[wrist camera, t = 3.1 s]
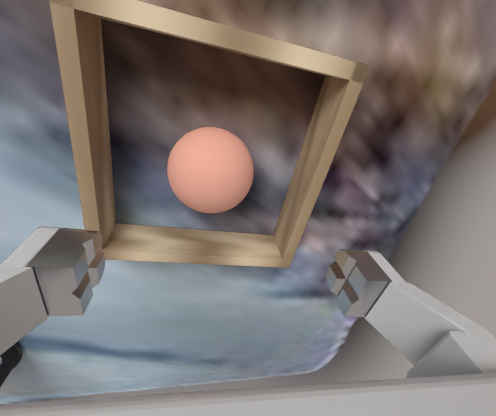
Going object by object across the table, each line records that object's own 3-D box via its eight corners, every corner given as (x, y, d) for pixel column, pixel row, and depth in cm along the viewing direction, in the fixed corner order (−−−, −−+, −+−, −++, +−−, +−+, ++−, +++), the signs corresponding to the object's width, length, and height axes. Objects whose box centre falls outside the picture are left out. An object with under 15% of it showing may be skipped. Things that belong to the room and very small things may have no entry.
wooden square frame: (105, 230, 18) (89, 258, 16) (80, -8, 11) (45, -26, 9) (279, 243, 22) (289, 267, 19) (342, 64, 15) (370, 65, 12)
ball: (170, 184, 17) (159, 226, 13) (174, 111, 15) (162, 133, 10) (239, 193, 18) (249, 233, 14) (254, 126, 16) (271, 151, 12)
